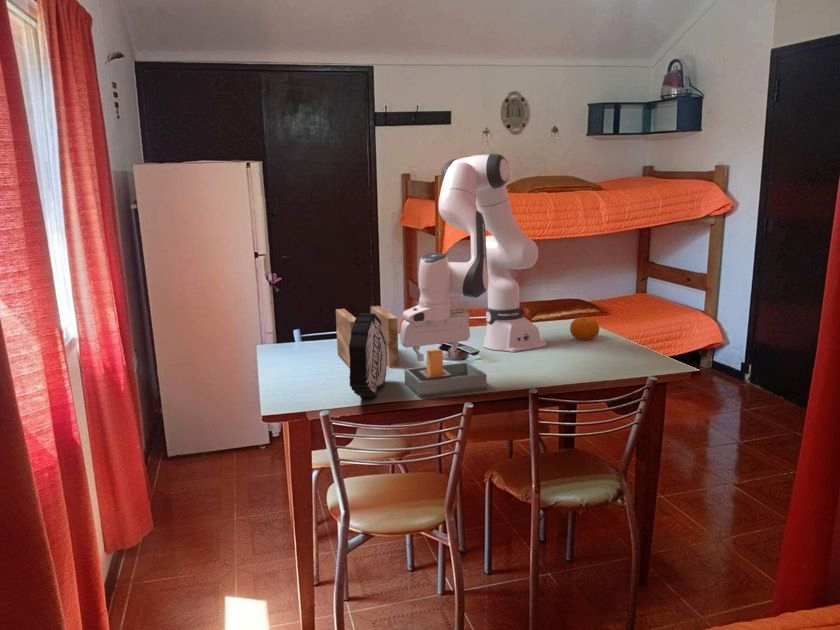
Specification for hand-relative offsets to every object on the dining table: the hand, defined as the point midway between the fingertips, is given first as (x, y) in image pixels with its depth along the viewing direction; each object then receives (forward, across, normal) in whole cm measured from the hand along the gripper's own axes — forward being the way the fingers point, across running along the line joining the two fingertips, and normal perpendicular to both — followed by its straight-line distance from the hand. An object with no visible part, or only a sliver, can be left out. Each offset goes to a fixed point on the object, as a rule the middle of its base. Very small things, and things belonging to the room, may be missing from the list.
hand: (436, 358), depth 192 cm
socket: (+9, 0, 0) cm, 9 cm away
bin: (+9, -2, 0) cm, 9 cm away
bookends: (+9, +11, -36) cm, 39 cm away
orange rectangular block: (+8, 0, 0) cm, 8 cm away
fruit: (+10, -71, -34) cm, 79 cm away
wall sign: (+9, +20, -1) cm, 21 cm away
